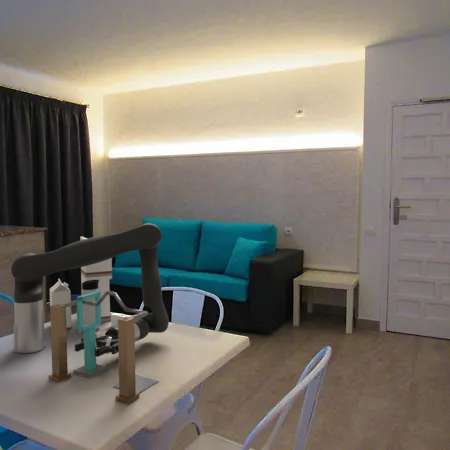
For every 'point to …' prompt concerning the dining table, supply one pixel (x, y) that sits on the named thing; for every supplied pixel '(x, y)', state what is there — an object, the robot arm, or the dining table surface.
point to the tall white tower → (100, 282)
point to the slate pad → (141, 383)
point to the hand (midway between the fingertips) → (85, 351)
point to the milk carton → (61, 298)
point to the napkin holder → (116, 318)
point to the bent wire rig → (124, 347)
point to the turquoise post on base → (89, 337)
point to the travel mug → (90, 309)
